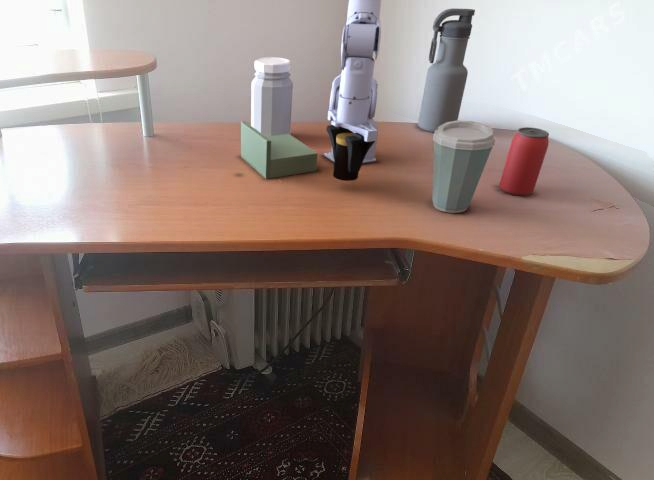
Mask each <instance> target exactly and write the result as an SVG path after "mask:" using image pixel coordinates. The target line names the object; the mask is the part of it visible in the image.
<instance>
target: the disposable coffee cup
mask: <svg viewBox="0 0 654 480" xmlns="http://www.w3.org/2000/svg"><path fill="white" fill-rule="evenodd" d="M432 141H433V170H432V177H433V178H432V204H433V205H432V206H433V207H434V208H435V209H436V210H438V211H441V212H443V213H449V214H458V213H459V214H460V213H463V212H465V211H467V209H468V207H470V205H471V203H472V200H473V198H474V195H475V192H476V189H477V187H478V185H479V182H480V180H481V177H482V175H483V173H484V170H485V167H486V164H487V163H488V159H489V157H490V154H491V152H492V150H493V147H495V144H496V143H495V141H496V138H495V135H494V129H493V128H492V127H490V126H489V125H487V124H486V123H482V122H478V121H472V120H461V119H460V120H459V119H458V120H457V121H452V122H446V123H444V124H442V125H440V126H439V127H438V130H436V131H435V132H433V136H432Z"/></svg>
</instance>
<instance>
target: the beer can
mask: <svg viewBox="0 0 654 480" xmlns="http://www.w3.org/2000/svg"><path fill="white" fill-rule="evenodd" d="M549 135H550V133H549V132H548V131H547V130H544V129H542V128H538V127H537V128H536V127H520V128H518V129H517V131H516V133H515V134H514V136H513V137H512V140H511V142H510V146H509V149H508V153H507V156H506V159H505V163H504V166H503V170H502V173H501V177H500V181H499V184H498V187H499V189H500V190H501V191H502V192H503V193H506V194H508V195H512V196H518V197H524V196H529V195H531V194H532V193H534V192H535V191H534V190H535V188H536V185H537V182H538V179H539V175H540V172H541V170H542V166H543V164H544V160H545V157H546V154H547V151H548V147H549V143H550V142H549V141H550V140H549Z"/></svg>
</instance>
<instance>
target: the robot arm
mask: <svg viewBox="0 0 654 480" xmlns="http://www.w3.org/2000/svg"><path fill="white" fill-rule="evenodd" d="M381 4H382V0H348V4H347V15H346V22H345V25H346V26H345V25H344V26H343V28H342V35H341V47H340V56H341V57H340V58H341V59H340V60H341V61H340V62H341V63H340V70H341V72H340V74H339V75H338V76H335V78H334V79H333V81H332V85H331V90H330V97H329V107H328V111H327V121H329V122H331V125H327V126H326V128H325V130H326V132H327V135H328V137H329V140H330V143H331V151H330V152H324V153H323V156H324V157H325V158H327V159H328V160H329V161H331V162H333V163H334V160H335V150H336V136H337V135H338V134H340V133H355V136H347V137H345V140H346V143H347V147H348V170H349V172H350V173H352V172H358V171H359V172H360V171H361V168H362V165H363V164H367V163H374V162H377V158H376V157H375V155H376V149H377V141H378V133H379V130H378V125H377V122H376V121H375V119H373V118H375V115H376V110H377V102H378V87H379V84H378V81H377V80H376V79H375V77H374V71H375V63H376V62H375V61H377V59H378V56H379V52H380V46H381V38H382V27H381V19H380V18H381V17H380V15H381V6H382V5H381ZM374 54H375V55H374ZM373 56H375V58H373Z"/></svg>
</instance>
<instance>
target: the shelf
mask: <svg viewBox="0 0 654 480" xmlns="http://www.w3.org/2000/svg"><path fill="white" fill-rule="evenodd" d="M318 155H319V153H318V152H316V150H313V149H312V148H310V147H309V146H308V145H307V144H304V143H303V142H302V141H300V140H299V139H297V138H296V137H294V136H293V135H292V134H291V133H290V134H284V135H276V136H268V137H265V136H264V135H263V134H261V133H260V132H259V131H257V130H256V129H255V128H253V127H252V126H251V124H249V123H248V122H247V121H240V158H241V159H243V160H244V161H245V162H246V163H247V164H248V165H250V166H251V168H253V169H254V170H255V171H256V172H257V173H258V174H260V175H261V177H263V178H264V179H266V180H267V179H273V178H280V177H287V176H292V175H293V176H294V175H298V174H306V173H313V172H317V165H318Z"/></svg>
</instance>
